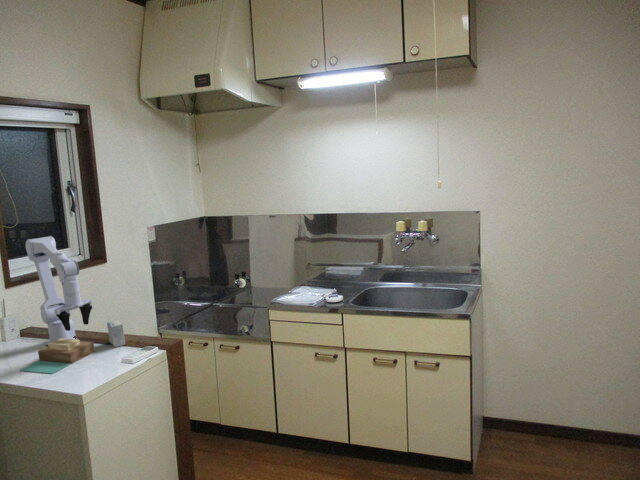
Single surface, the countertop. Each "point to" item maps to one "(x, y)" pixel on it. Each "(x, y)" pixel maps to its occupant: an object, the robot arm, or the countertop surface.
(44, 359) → the block
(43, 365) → the mat
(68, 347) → the cream rectangular block
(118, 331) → the medicine box
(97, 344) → the countertop surface
